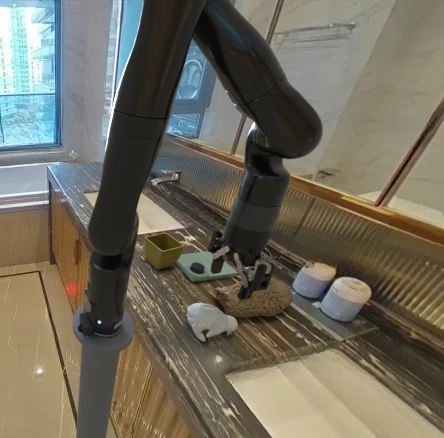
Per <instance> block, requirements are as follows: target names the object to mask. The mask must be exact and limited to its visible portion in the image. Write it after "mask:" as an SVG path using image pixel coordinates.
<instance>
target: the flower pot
mask: <svg viewBox="0 0 444 438" xmlns="http://www.w3.org/2000/svg"><path fill="white" fill-rule="evenodd" d="M185 247H186V246H185V244H183V243H182V242H180V240H178V239H176V238H174V236H173V235H170V234H169V233H168V232H161V233H157V234H153V235H147V236H145V237H144V254H145V257H146V259H147V261H148V262H149V264H151V265H152V266H153V267H154V268H155V269H157V270H158V271H159V270H163V269H166V268H170V267H172V266H173V265H175V264H176V262H177V261H178V259H179V258H180V256H181V254H183V251H184V249H185Z"/></svg>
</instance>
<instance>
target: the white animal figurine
mask: <svg viewBox="0 0 444 438" xmlns="http://www.w3.org/2000/svg"><path fill="white" fill-rule="evenodd" d="M186 310H187V314H186V318H187V323H188V325H189V326H190V327H191V330H192V331H193V333H194V335H195V336H196V337H197V339H199V340H200V341H201V342H206V338H211V337H214V336H217V335H220V334H222V333H224V332H225V334H227V335H226V336H229V335H233V332H234V331H236V330H237V329H238V325H239V324H238V321H237V318H236V317H233V316H229V315H226V314H225V312H223V311H222V310H221V309H219V308H218V307H216V306H214V305H212V304H210V303H203V302H195V303H192V304H191V305H189V306H188V307H187V308H186ZM205 330H209V331H208V332H207V333H206V337H205V335H204V333H203V331H205Z"/></svg>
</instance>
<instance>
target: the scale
mask: <svg viewBox="0 0 444 438" xmlns="http://www.w3.org/2000/svg"><path fill="white" fill-rule="evenodd" d="M212 255H213V254H212V253H211V252H209V251H208V250H206V251H199V252H198V251H197V252H191V253H181V256H180V258H179V259H178V261H177V262H176V263H175V264H176V266H178V267H179V269H180V270H181V271H182V272H183V273H184V274H185V276H187V277H188V279H189V280H190V281H191V282H192V283H197V282H204V281H212V280H219V279H227V278H235V277H238V275H239V273H238V270H237V271H236V270H235V268H233V267H232V266H231V265H230V264H229V263H227V261H226V260H225V261H224V264H223V267H222V270H221V272H220V273H217V274H213V273H211V265H212V261H213V257H212ZM194 262H197V263H201V264H202V265H204V267H205V269H204V272H203V273H202V274H196V273H194V272H192V271H191V269H190V268H191V265H192V263H194Z"/></svg>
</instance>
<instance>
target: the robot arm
mask: <svg viewBox="0 0 444 438" xmlns="http://www.w3.org/2000/svg"><path fill="white" fill-rule="evenodd" d="M139 17H140V18H139V21H138V22H139V23H138V28H137V33H136V35H135V39H134V43H133V44H132V45H133V46H132V48H131V51H130V54H129V56H128V59H127V62H126V64H125V67H124V69H123V72H122V75H121V78H120V80H119V83H118V87H117V90H116V93H115V96H114V100H113V104H112V109H111V114H110V119H109V124H108V130H107V136H106V143H105V148H104V155H103V160H102V164H103V168H102V167H101V168H102V170H101V177H100V183H99V187H98V188H99V189H98V193H97V196H96V198H95V199H96V200H95V202H94V205H93V209H92V212H91V215H90V218H89V221H88V223H87V227H86V235H87V240H88V242H89V244H90V246H91V252H90V254H89V258H88V268H87V269H88V270H87V284H86V288H84V291H83V304H84V305H83V304H82V305H83V313H80V325H79V326H78V331H79V332H81V333H83V334H84V336H89V335H96V336H98V337H102V338H111V337H114V336H116V335H117V334H119V333H120V331H121V329H122V324H123V315H124V309H125V307H126V301H127V296H128V290H129V289H128V287H129V281H130V276H131V271H132V265H133V262H134V257H135V251H136V245H137V241H138V234H139V229H140V227H139V226H140V216H139V213H138V205H139V202H140V198H141V195H142V192H143V191H144V188H145V185H146V183H147V181H148V180H149V177H150V175H151V172H152V171H153V168H154V166H155V164H156V161H157V159H158V156H159V153H160V150H161V149H162V145H163V143H164V140H165V136H166V134H167V131H168V128H169V125H170V120H171V118H172V113H173V109H174V105H175V101H176V98H177V95H178V91H179V88H180V84H181V80H182V77H183V73H184V69H185V66H186V63H187V58H188V54H189V49H190V47H191V43H192V41H193V43H194V45H196V47H197V48H198V50H199V51H200V53H201V55H202V56H203V57H204V59H205V60H206V62H207V63H208V65H209V66H210V68H211V70H212V71H213V73H214V75H215V77H216V78H217V80H218V82H219V83H220V85H221V86H222V89H224V91H225V93H226V95H227V96H228V97H229V99H230V101H231V103H232V104H233V106H234V107H235V109H236V110H237V111H238V112H239V113H240V114H241V115H243V116H244V117H246V118H248V119H250V120H251V121H253V122H252V123H251V125H250V126H249V129H248V132H247V133H246V137H245V138H246V139H245V145H244V158H243V159H244V161H243V169H244V170H243V177H242V179H241V182H240V185H239V189H238V192H237V194H236V197H235V199H234V201H233V203H232V206H231V209H230V211H229V214H228V218H227V220H226V224H225V227H224V228H223V229H214V230H213V233H212V236H211V239H210V241H209V244H208V246H207V251H209V252H211V253H212V254H213V255H212V257H213V261H212V265H211V273H213V274H217V273H220V272H221V270H222V267H223V264H224V261H225V262H226V260H227V261H229V262H231V263H232V265H234V267H236V268H237V272H238V275H239V276H240V277H241V281H243V284H242V286H241V288H240V291H239V293H238V296H237V298H238V299H239V300H246V299H250V298H251V297H252V294H253V292H254V291H260V290H266V289H267V288H268V285H269V282H270V280H271V277H272V278H273V274H274V271H275V269H276V265H275V263H273V262H266V261H265V260H264V259H262V252H263V251H264V250H265V249H266V248H267V246H268V244H269V241H270V239H271V237H272V234H273V232H274V230H275V227H276V225H277V223H278V220H279V217H280V214H281V210H282V205H283V203H284V201H285V198H286V196H287V193H288V192H289V191H288V190H289V188H290V186H291V182H292V175H291V173H290V172H289V170H287V169H286V167H285V165H284V159H285V160H297V159H301V158H304V157H307V156H308V155H309V154H310V155H311V153H312V152H314V151H315V150H316V149H317V147H319V145H320V143H321V141H322V138H323V135H324V127H323V122H322V119H321V117H320V115H319V114H318V112H317V111H316V109H315V108H314V107H313V106H312V104H311V103H310V102H309V101H308V100H307V99H306V98H305V97H304V96H303V95H302V93H300V92H299V91H298V90H297V89H296V88H295V87H294V86H293V85H292V84H291V83H290V81H289V80H288V77H287V75H286V73H285V71H284V69H283V67H282V65H281V63H280V62H279V60H278V58H277V56H276V54H275V52H274V50H273V49H272V46H270V44H269V43H268V42H267V41H268V40H266V39H265V38H264V36H263V35H262V34H261V33H260V32H259V30H258V29H257V28H256V27H254V25H253V24H252V23H251V22H250V21H248V20H247V19H246V17H245V16H244V15H242V13H241V12H240V11H239V10H238V9H237V7H235V6H234V4H233V3H232V1H231V0H142V7H141V11H140V16H139ZM225 258H226V260H225ZM249 267H250V269H249V270H246V268H249ZM249 276H250V278H251V281H249V279H250V278H249ZM81 328H82V329H81Z"/></svg>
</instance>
